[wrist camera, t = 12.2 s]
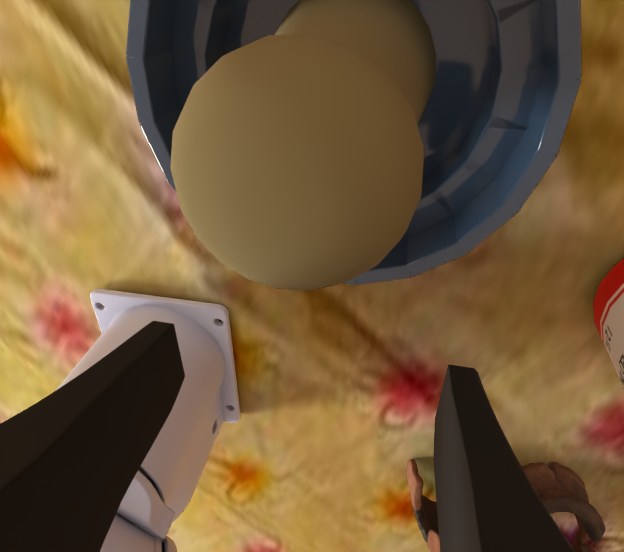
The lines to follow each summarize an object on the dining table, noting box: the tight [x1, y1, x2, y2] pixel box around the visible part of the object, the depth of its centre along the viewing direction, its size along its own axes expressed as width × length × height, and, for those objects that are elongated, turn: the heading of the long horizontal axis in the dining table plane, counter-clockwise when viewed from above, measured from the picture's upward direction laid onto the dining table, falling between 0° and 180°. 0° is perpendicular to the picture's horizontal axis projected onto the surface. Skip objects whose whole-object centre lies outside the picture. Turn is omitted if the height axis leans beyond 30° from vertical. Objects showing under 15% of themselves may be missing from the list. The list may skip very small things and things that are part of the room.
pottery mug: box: [407, 459, 605, 552], centre depth 28 cm, size 12×10×8 cm
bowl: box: [126, 0, 582, 285], centre depth 16 cm, size 13×13×4 cm
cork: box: [170, 0, 436, 291], centre depth 13 cm, size 6×6×11 cm
